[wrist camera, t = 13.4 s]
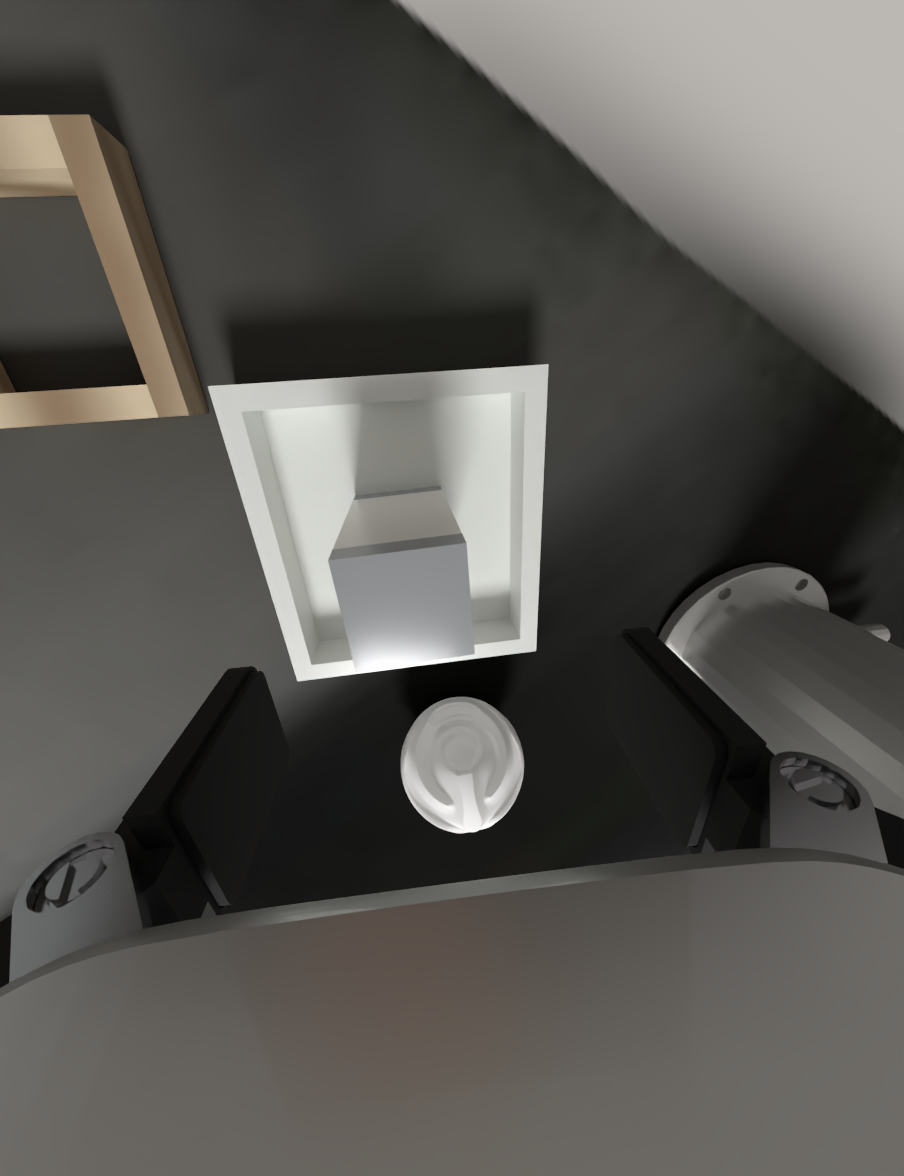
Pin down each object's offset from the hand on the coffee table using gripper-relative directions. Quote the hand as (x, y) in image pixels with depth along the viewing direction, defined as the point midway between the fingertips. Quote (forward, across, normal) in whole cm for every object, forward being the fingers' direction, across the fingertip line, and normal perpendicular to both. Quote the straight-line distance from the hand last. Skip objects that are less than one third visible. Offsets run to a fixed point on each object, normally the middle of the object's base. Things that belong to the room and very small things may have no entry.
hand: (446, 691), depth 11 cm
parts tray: (+13, +1, -1) cm, 13 cm away
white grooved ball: (+14, -1, +14) cm, 20 cm away
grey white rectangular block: (+13, +1, -1) cm, 13 cm away
